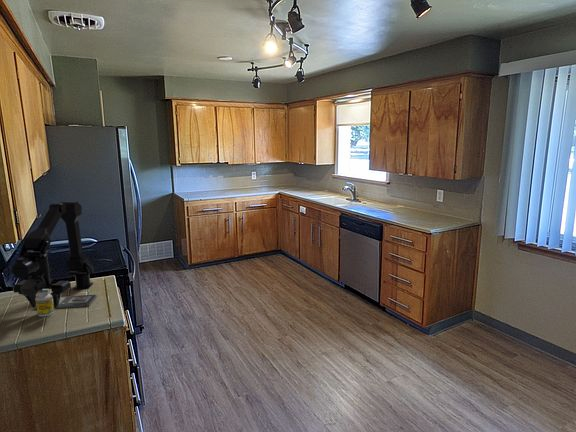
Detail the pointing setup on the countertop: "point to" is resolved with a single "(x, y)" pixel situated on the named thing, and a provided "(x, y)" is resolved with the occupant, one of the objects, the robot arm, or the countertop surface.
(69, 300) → the panel
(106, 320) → the countertop surface
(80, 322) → the countertop surface
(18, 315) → the countertop surface
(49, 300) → the supplement bottle
